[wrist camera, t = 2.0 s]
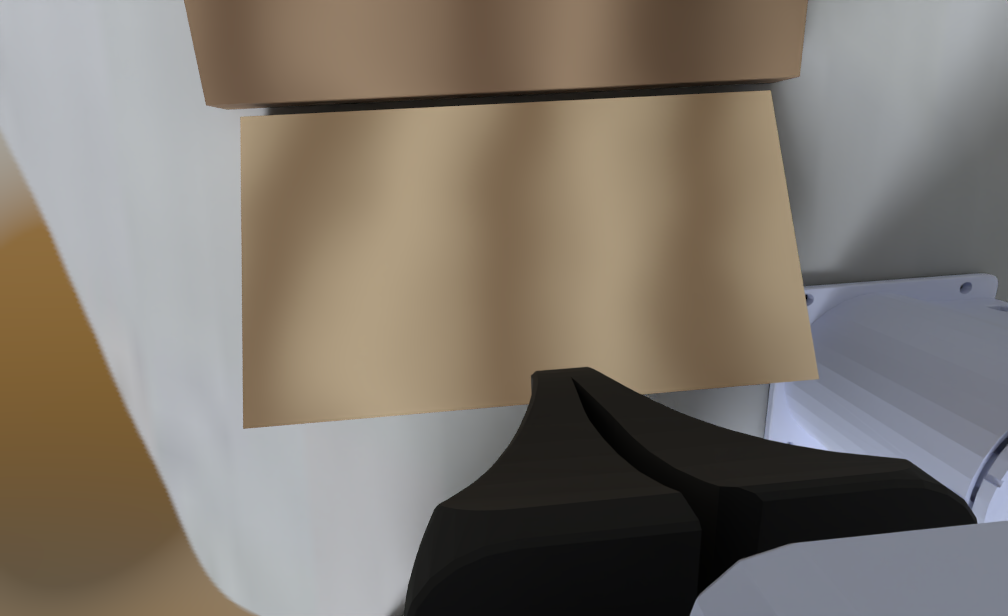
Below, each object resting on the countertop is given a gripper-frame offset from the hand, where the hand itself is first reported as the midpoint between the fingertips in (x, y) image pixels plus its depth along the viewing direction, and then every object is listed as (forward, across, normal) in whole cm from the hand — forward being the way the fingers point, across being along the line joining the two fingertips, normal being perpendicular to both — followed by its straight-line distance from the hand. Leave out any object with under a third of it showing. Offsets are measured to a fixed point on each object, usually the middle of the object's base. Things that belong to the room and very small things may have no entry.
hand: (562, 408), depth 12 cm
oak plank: (+7, 0, -2) cm, 7 cm away
